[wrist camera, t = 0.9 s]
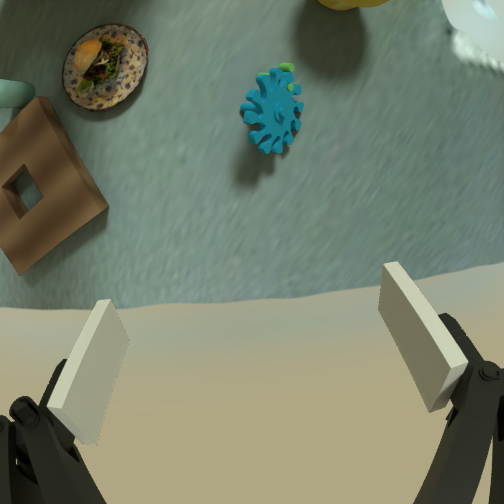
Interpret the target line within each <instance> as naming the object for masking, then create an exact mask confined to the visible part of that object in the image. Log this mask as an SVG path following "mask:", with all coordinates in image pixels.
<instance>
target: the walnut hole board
mask: <svg viewBox="0 0 504 504" xmlns="http://www.w3.org/2000/svg"><path fill="white" fill-rule="evenodd" d="M26 169H28V171H29V173H30V175H31V176H32V178H33V180H34V182H35V184H36V185H37V187H38V189H39V191H40V192H41V194H42V196H43V198H42V199H41V200H40V201H39V202H38V203H37V204H36V205H35V206H34V207H33V208H32V209H31V210H29V211H28V210H27V208H26V206H25V205H24V203H23V201H22V199H21V198H20V196H19V194H18V192H17V190H16V189H15V187H14V185H13V182H14V181H15V180H16V179H17V178H18V177H19V176H20V175H21V174H22V173H23V172H24V171H25V170H26ZM108 206H109V205H108V203H107V202H106V200H105V198H104V197H103V195H102V194H101V192H100V190H99V189H98V187H97V185H96V184H95V182H94V181H93V179H92V177H91V176H90V174H89V172H88V170H87V169H86V167H85V165H84V164H83V162H82V160H81V158H80V157H79V155H78V153H77V151H76V150H75V148H74V146H73V144H72V143H71V141H70V139H69V137H68V135H67V133H66V132H65V130H64V128H63V126H62V124H61V122H60V120H59V119H58V117H57V115H56V113H55V111H54V109H53V107H52V105H51V103H50V101H49V99H48V97H40V96H36V97H35V98H34V99H33V100H32V101H31V102H30V103H29V104H28V105H27V106H26V107H25V108H24V109H23V110H22V111H21V112H20V113H19V114H18V115H17V116H16V117H15V118H14V119H13V120H12V121H11V122H10V123H9V124H8V125H7V126H6V127H5V129H4V130H3V131H2V132H1V133H0V247H1V248H2V250H3V251H4V253H5V255H6V256H7V258H8V259H9V261H10V262H11V264H12V265H13V267H14V268H15V270H16V271H17V273H18V274H19V276H21V275H22V274H23V273H24V272H25V271H26V270H28V269H29V268H30V267H31V266H32V265H33V264H35V263H36V262H37V261H38V260H39V259H41V258H42V257H43V256H44V255H45V254H47V253H48V252H49V251H50V250H52V249H53V248H54V247H55V246H57V245H58V244H59V243H60V242H62V241H63V240H64V239H65V238H67V237H68V236H69V235H71V234H72V233H73V232H75V231H76V230H77V229H79V228H80V227H81V226H83V225H84V224H85V223H87V222H88V221H89V220H91V219H92V218H93V217H95V216H96V215H98V214H99V213H100V212H102V211H103V210H104V209H106V208H107V207H108Z"/></svg>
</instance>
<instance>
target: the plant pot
mask: <svg viewBox="0 0 504 504" xmlns="http://www.w3.org/2000/svg"><path fill="white" fill-rule="evenodd" d="M318 1H319V2H320V3H321V4H323V5H324V6H326V7H328V8H331V9H334V10H347V9H351V8H355V7H375V6H378V5H381V4H383V3H385V2H387V1H389V0H318Z"/></svg>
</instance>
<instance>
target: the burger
mask: <svg viewBox="0 0 504 504" xmlns="http://www.w3.org/2000/svg"><path fill="white" fill-rule="evenodd" d="M69 46H70V45H69ZM70 47H71V49H70V50H69V52H68V54H67V56H66V58H65V61H64V64H63V69H62V84H63V87H64V90H65V92H66V94H67V96H68V97H69V99H70V100H71V101H72V102H73V103H74V104H76V105H77V106H79V107H80V108H82V109H86V110H89V111H94V112H100V111H105V110H107V109H109V108H111V107H113V106H116V105H118V104H120V103H121V102H122V101H124V100H125V99H126V98H127V97H128V96H129V95H130V94H131V93H132V92H133V91H134V89H135V88H136V87H137V86H138V85H139V84H140V82H141V80H142V77H143V73H144V70H145V67H146V64H147V61H148V59H147V56H148V52H149V49H148V45H147V43H146V41H145V38H142V37H141V35H140V34H139V33H138V32H137V31H136V30H135V29H134V28H132V27H131V26H128V25H123V24H105V25H101V26H97V27H95V28H93V29H91V30H90V31H88V32H87V33H85V34H84V35H82V36H81V37H80V38H79V39H78V40H77V41H76V42H75V43H74V44H73V45H72V46H70Z"/></svg>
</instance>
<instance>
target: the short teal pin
mask: <svg viewBox="0 0 504 504" xmlns="http://www.w3.org/2000/svg"><path fill="white" fill-rule="evenodd" d="M34 96H35V89H34V86H33V85H32V84H30V83H25V82H18V81H10V80H2V79H0V108H25V107H26V106H27V105H28V104H29V103H30V102H31V101H32V100H33V99H34Z"/></svg>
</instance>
